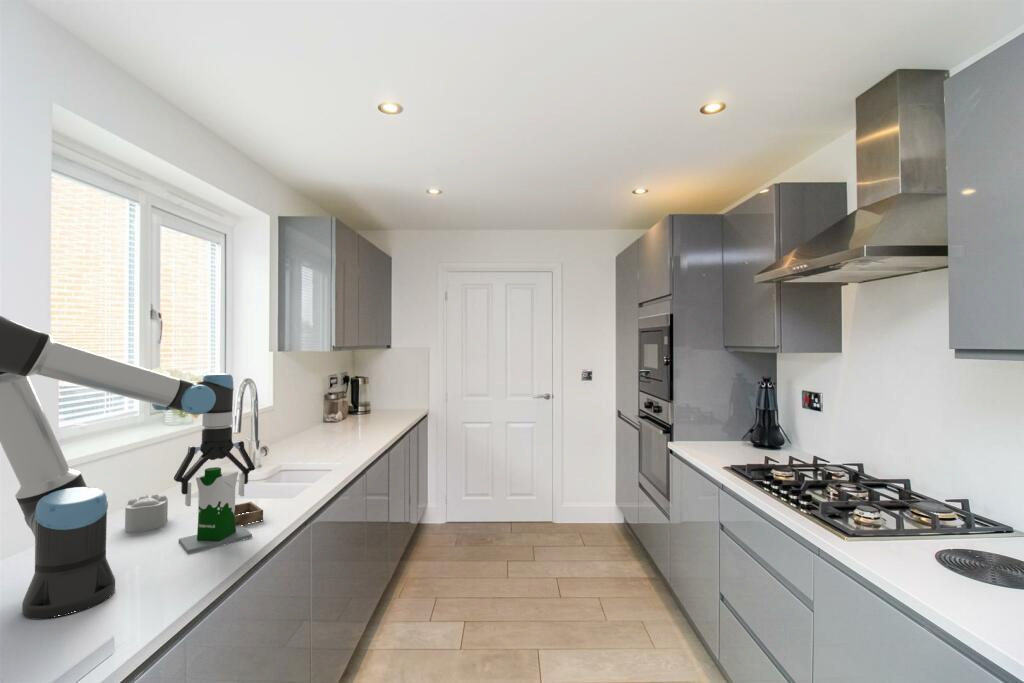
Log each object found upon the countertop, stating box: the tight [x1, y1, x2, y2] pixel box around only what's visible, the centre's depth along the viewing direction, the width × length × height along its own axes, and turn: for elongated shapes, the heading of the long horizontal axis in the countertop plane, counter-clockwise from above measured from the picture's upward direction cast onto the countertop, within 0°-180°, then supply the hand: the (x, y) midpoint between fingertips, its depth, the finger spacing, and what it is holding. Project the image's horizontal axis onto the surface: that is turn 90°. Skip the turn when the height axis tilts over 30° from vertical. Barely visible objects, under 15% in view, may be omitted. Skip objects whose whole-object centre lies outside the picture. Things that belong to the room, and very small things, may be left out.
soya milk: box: [195, 466, 239, 541], centre depth 141 cm, size 9×9×20 cm
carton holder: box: [235, 501, 264, 526], centre depth 156 cm, size 12×12×4 cm
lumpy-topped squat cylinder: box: [124, 493, 169, 533], centre depth 153 cm, size 10×13×9 cm
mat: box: [178, 525, 253, 555], centre depth 141 cm, size 16×11×1 cm
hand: (215, 500), depth 141 cm, fingers open, 13 cm apart
